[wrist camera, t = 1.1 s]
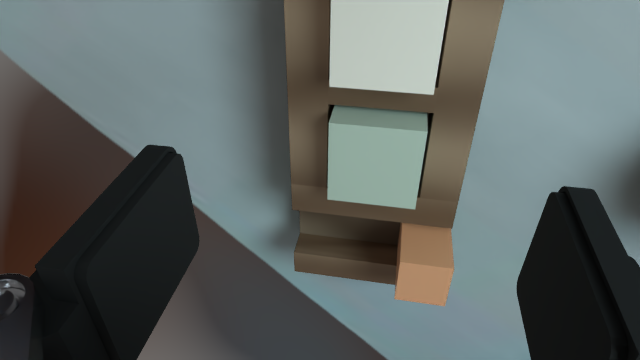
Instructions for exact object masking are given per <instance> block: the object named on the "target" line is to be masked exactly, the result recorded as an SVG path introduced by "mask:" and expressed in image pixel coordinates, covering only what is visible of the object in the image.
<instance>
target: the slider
mask: <svg viewBox="0 0 640 360" xmlns="http://www.w3.org/2000/svg"><path fill="white" fill-rule="evenodd" d="M453 271H454V261H453V249H452V236H451V228H443V227H435V226H426V225H418V224H409V223H401V224H400V231H399V238H398V249H397V266H396V283H395V299H398V300H405V301H412V302H419V303H426V304H433V305H440V306H445V303H446V299H447V295H448V291H449V287H450V283H451V279H452V275H453Z"/></svg>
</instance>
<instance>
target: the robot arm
mask: <svg viewBox="0 0 640 360" xmlns="http://www.w3.org/2000/svg"><path fill="white" fill-rule="evenodd" d="M198 246H199V234H198V229H197V224H196V219H195V215H194V210H193V205H192V200H191V195H190V190H189V185H188V180H187V175H186V171H185V166H184V161H183V157H182V156H181V154H177V153H176V151H175V149H174V148H173V147H167V146H157V145H147V146H146V147H145V148H144V149H143V150H142V151H141V152H140V153H139V154H138V155H137V156H136V157H135V158H134V160H133V161H132V162H131V163H130V164H129V165H128V166H127V167H126V168H125V169H124V170H123V171H122V172H121V174H120V175H119V176H118V177H117V178H116V179H115V180H114V181H113V182H112V183H111V184H110V185H109V186H108V188H107V189H106V190H105V191H104V192H103V193H102V194H101V195H100V196H99V197H98V198H97V199H96V200H95V202H94V203H93V204H92V205H91V206H90V207H89V208H88V209H87V210H86V211H85V212H84V213H83V214H82V215H81V217H80V218H79V219H78V220H77V221H76V222H75V223H74V224H73V225H72V226H71V227H70V228H69V230H68V231H67V232H66V233H65V234H64V235H63V236H62V237H61V238H60V239H59V240H58V241H57V242H56V243H55V245H54V246H53V247H52V248H51V249H50V250H49V251H48V252H47V253H46V254H45V255H44V256H43V258H42V259H41V260H40V261H39V262H38V263H37V264H36V265H35V268H36V271H35V272H34V273H33V274H32V275H31V276H30V277H29V278H28V277H26V276H24V275H21V274H11V273H7V274H1V275H0V360H137V358H138V356H139V354H140V353H141V351H142V349H143V347H144V345H145V344H146V342H147V340H148V338H149V336H150V335H151V333H152V331H153V329H154V327H155V326H156V324H157V322H158V320H159V318H160V317H161V315H162V313H163V311H164V310H165V308H166V306H167V304H168V302H169V301H170V299H171V297H172V295H173V293H174V292H175V290H176V288H177V286H178V285H179V283H180V281H181V279H182V277H183V275H184V274H185V272H186V270H187V268H188V266H189V265H190V263H191V261H192V259H193V258H194V256H195V254H196V252H197V250H198ZM517 296H518V301H519V306H520V310H521V315H522V320H523V324H524V329H525V333H526V338H527V343H528V347H529V352H530V357H531V360H640V267H639V265H638V264H637V262H636V261H635V260H634V259H633V258H632V257H630V256H628V255H627V253H626V251H625V249H624V247H623V245H622V243H621V241H620V239H619V237H618V235H617V233H616V231H615V229H614V227H613V225H612V223H611V221H610V219H609V217H608V215H607V213H606V211H605V209H604V208H603V206H602V204H601V202H600V200H599V198H598V196H597V194H596V192H595V191H594V190H592V189H586V188H576V187H566V186H564V187H561V189H560V190H559V192H552V193H550V195H549V197H548V199H547V202H546V204H545V207H544V210H543V212H542V215H541V218H540V220H539V223H538V226H537V229H536V231H535V234H534V237H533V239H532V242H531V245H530V247H529V250H528V253H527V256H526V258H525V261H524V264H523V266H522V269H521V272H520V274H519V277H518V281H517Z"/></svg>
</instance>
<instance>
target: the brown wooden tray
mask: <svg viewBox="0 0 640 360" xmlns="http://www.w3.org/2000/svg"><path fill="white" fill-rule="evenodd" d="M503 4H504V0H449V3H448V9H447V15H446V21H445V28H444V34H443V40H442V46H441V52H440V59H439V65H438V71H437V77H436V83H435V90H434V95H429V94H416V93H403V92H390V91H378V90H365V89H352V88H339V87H329V79H330V21H331V0H284V16H285V41H286V66H287V91H288V116H289V141H290V166H291V190H292V210H299V212H300V235H299V238H298V241H297V244H296V248H295V251H294V265H295V271H298V272H305V273H313V274H320V275H327V276H335V277H342V278H349V279H356V280H364V281H371V282H378V283H386V284H393V285H395V283H396V266H397V249H398V238H399V231H400V224H401V223H409V224H418V225H426V226H435V227H443V228H451V229H452V227H453V222H454V218H455V213H456V209H457V205H458V200H459V196H460V192H461V187H462V183H463V179H464V174H465V170H466V166H467V161H468V157H469V152H470V148H471V144H472V139H473V135H474V131H475V126H476V122H477V118H478V113H479V109H480V104H481V100H482V96H483V91H484V87H485V83H486V78H487V74H488V70H489V65H490V61H491V57H492V52H493V48H494V43H495V39H496V35H497V30H498V26H499V22H500V17H501V13H502V9H503ZM335 105H343V106H355V107H367V108H379V109H391V110H402V111H414V112H426V113H427V125H428V133H427V139H426V145H425V151H424V158H423V164H422V170H421V176H420V182H419V189H418V195H417V201H416V207H415V209H407V208H398V207H389V206H381V205H372V204H363V203H354V202H345V201H337V200H328V199H327V195H328V137H329V121H330V118H331V115H332V112H333V109H334V106H335Z"/></svg>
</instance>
